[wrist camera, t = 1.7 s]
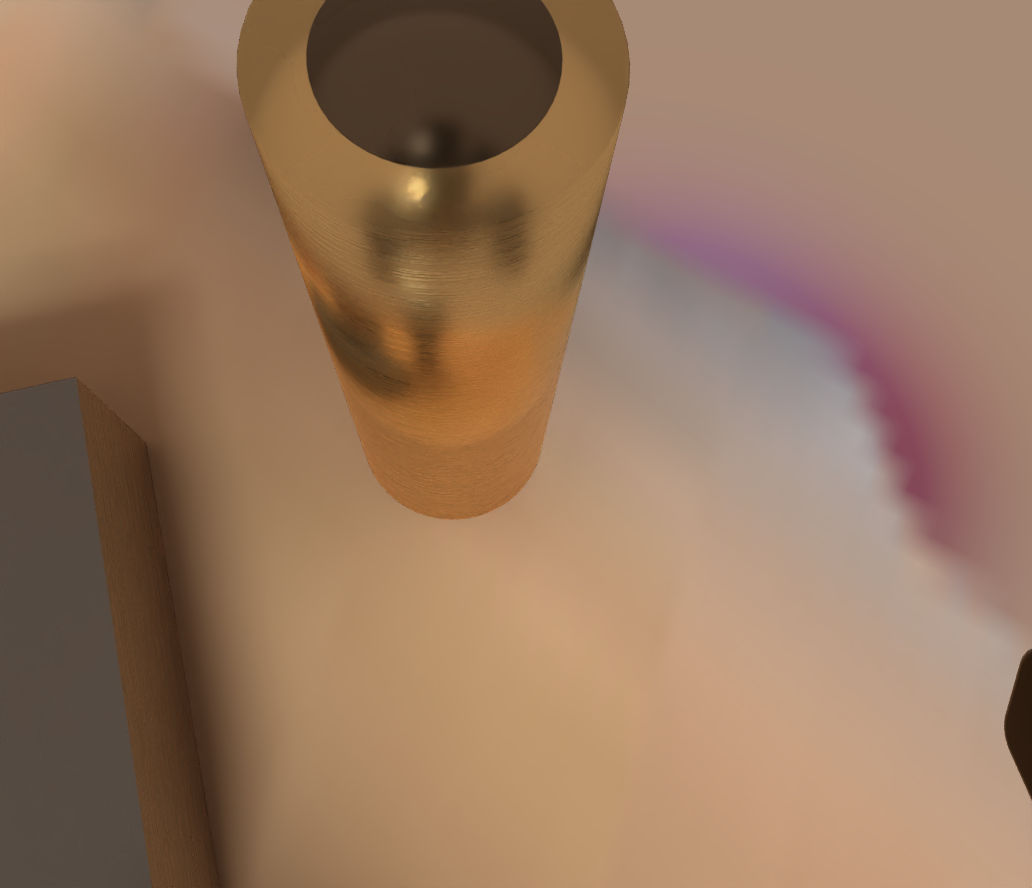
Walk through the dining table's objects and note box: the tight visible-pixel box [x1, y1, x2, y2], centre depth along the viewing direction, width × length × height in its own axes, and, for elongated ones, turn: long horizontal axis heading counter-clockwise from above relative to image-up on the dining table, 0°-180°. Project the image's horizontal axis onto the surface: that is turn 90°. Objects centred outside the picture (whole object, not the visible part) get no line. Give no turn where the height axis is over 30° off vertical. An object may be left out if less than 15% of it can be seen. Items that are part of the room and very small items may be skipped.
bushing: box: [237, 0, 630, 519], centre depth 16 cm, size 4×4×12 cm
